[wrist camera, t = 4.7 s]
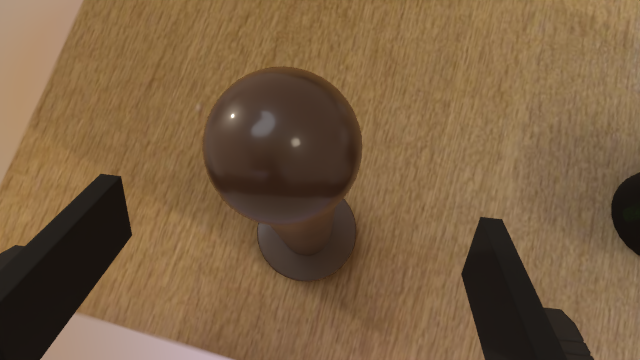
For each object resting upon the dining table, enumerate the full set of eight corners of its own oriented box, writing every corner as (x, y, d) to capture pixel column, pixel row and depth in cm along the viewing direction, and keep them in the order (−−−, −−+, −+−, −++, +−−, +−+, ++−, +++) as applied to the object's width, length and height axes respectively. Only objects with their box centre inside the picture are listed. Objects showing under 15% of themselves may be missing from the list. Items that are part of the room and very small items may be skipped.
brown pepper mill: (248, 265, 25) (78, 216, 8) (277, 177, 27) (188, -38, 9) (339, 293, 25) (381, 309, 7) (364, 202, 26) (451, 29, 9)
